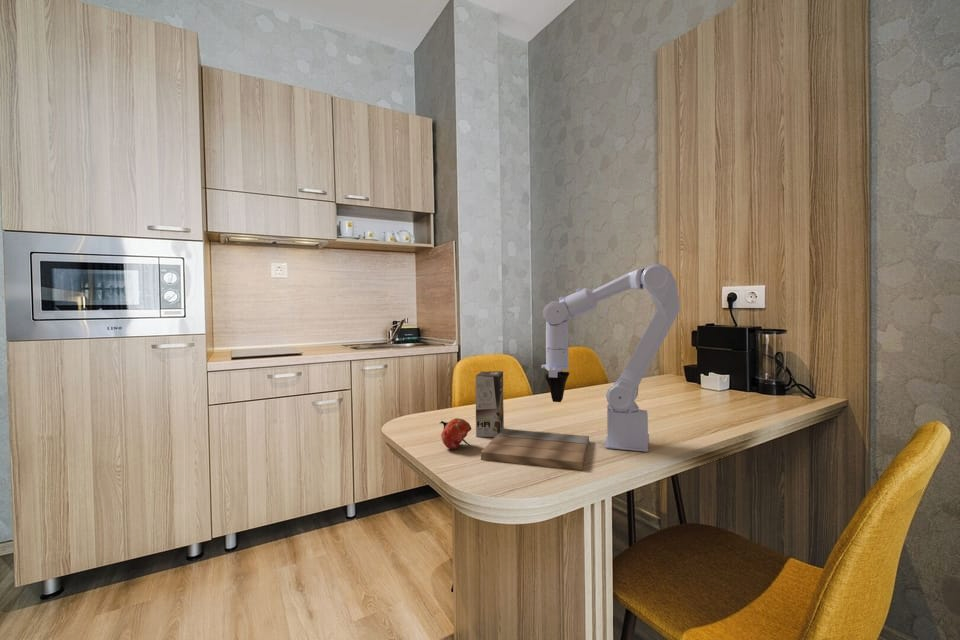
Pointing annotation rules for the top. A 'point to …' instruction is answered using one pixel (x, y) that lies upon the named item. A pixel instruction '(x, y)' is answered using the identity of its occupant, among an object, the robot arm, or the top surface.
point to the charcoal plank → (545, 436)
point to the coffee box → (489, 404)
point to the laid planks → (536, 452)
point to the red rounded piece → (455, 432)
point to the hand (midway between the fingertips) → (557, 400)
